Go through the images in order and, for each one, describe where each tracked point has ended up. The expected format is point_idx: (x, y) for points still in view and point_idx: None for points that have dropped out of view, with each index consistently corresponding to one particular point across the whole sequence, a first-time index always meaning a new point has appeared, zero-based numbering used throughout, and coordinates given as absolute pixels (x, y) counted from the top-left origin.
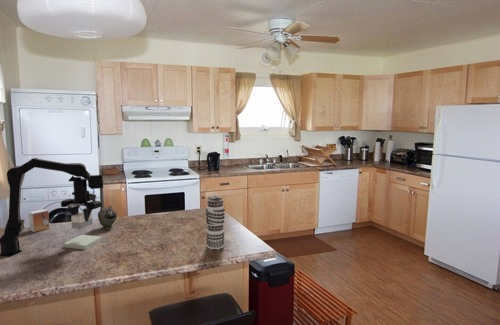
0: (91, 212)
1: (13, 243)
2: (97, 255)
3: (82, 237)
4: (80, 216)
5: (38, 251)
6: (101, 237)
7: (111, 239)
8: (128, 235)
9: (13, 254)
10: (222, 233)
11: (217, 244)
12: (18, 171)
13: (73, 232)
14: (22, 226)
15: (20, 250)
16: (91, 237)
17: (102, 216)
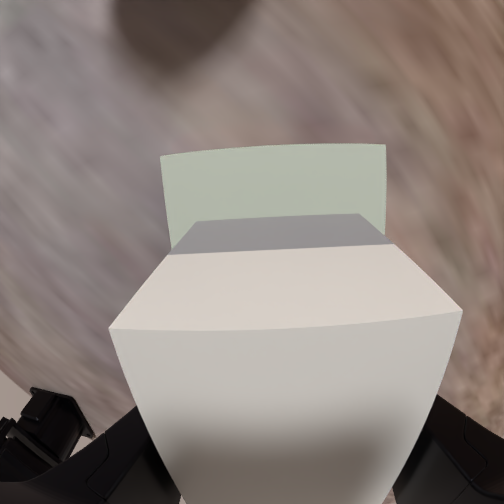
0: (457, 326)
1: (64, 451)
2: (462, 352)
3: (223, 211)
4: None
5: (128, 392)
6: (385, 154)
7: (421, 106)
8: (467, 19)
9: (87, 426)
10: None
11: None
12: None
13: (30, 93)
14: (24, 480)
15: (67, 399)
16: (304, 185)
17: None
